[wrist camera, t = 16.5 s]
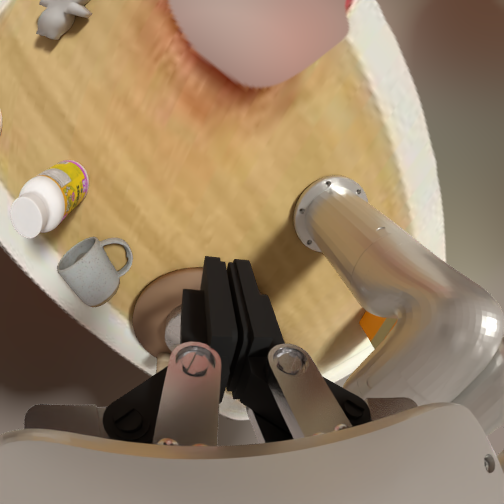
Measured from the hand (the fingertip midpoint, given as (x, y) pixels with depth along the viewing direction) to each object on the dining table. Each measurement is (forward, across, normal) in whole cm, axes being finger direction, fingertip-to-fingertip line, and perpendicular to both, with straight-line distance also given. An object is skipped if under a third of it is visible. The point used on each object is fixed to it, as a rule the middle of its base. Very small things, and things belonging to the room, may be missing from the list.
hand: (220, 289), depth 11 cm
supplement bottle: (+27, +19, +5) cm, 34 cm away
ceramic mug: (+27, +14, +17) cm, 35 cm away
